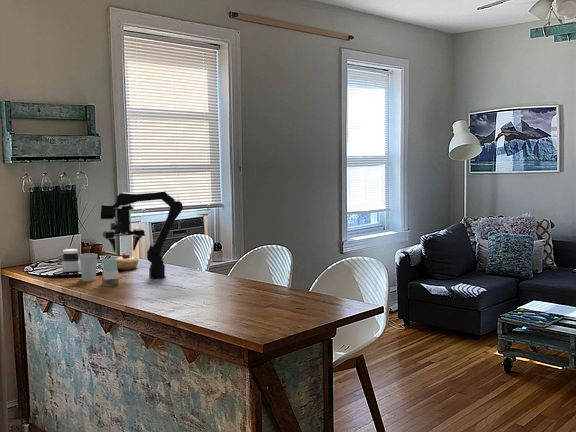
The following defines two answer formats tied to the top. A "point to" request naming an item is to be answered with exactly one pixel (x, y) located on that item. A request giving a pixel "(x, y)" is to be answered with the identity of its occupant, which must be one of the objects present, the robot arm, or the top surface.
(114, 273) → the cream slab
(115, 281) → the walnut slab
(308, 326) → the top surface
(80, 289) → the top surface
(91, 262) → the cup
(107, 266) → the painted cube
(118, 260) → the pastry
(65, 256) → the spread jar
